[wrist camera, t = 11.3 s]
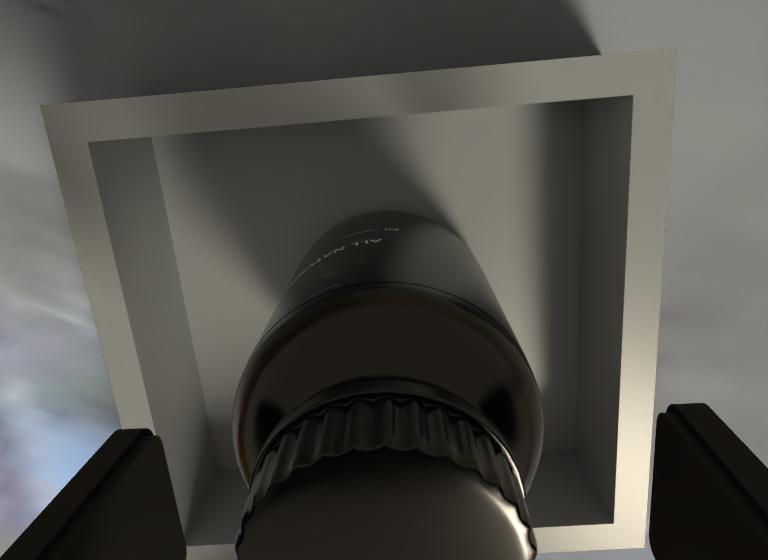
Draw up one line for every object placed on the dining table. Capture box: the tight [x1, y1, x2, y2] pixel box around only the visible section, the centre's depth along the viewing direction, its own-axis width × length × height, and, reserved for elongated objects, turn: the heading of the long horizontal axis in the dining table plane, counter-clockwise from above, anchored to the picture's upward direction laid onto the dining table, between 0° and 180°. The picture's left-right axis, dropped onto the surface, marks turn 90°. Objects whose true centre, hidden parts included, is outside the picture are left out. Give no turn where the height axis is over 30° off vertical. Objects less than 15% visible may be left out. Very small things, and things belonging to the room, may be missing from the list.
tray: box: [40, 48, 677, 560], centre depth 19 cm, size 16×15×5 cm
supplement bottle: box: [231, 210, 545, 560], centre depth 14 cm, size 7×7×12 cm
